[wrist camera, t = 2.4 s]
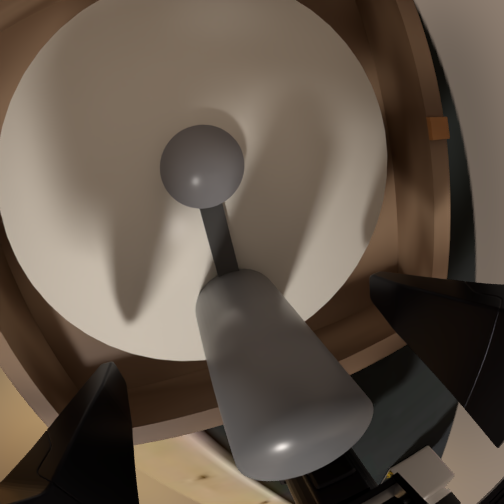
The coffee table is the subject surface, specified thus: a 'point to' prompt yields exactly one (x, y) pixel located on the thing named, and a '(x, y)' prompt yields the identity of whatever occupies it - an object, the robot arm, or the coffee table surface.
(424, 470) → the medicine bottle
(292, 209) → the dial
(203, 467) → the coffee table surface
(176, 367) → the dial frame
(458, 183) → the coffee table surface
